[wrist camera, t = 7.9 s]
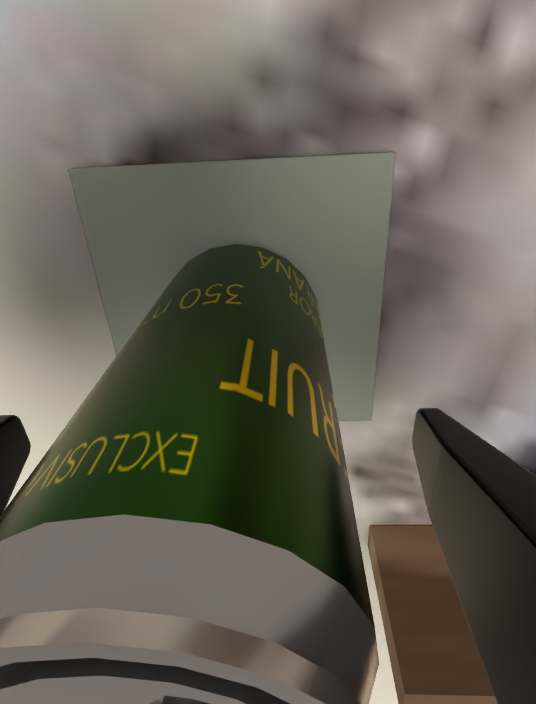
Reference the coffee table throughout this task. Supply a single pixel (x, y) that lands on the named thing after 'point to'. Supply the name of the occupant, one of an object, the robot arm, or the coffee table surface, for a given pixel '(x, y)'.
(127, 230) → the mat
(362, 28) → the coffee table surface
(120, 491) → the beer can
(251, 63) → the coffee table surface
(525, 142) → the coffee table surface
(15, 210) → the coffee table surface
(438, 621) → the stand
